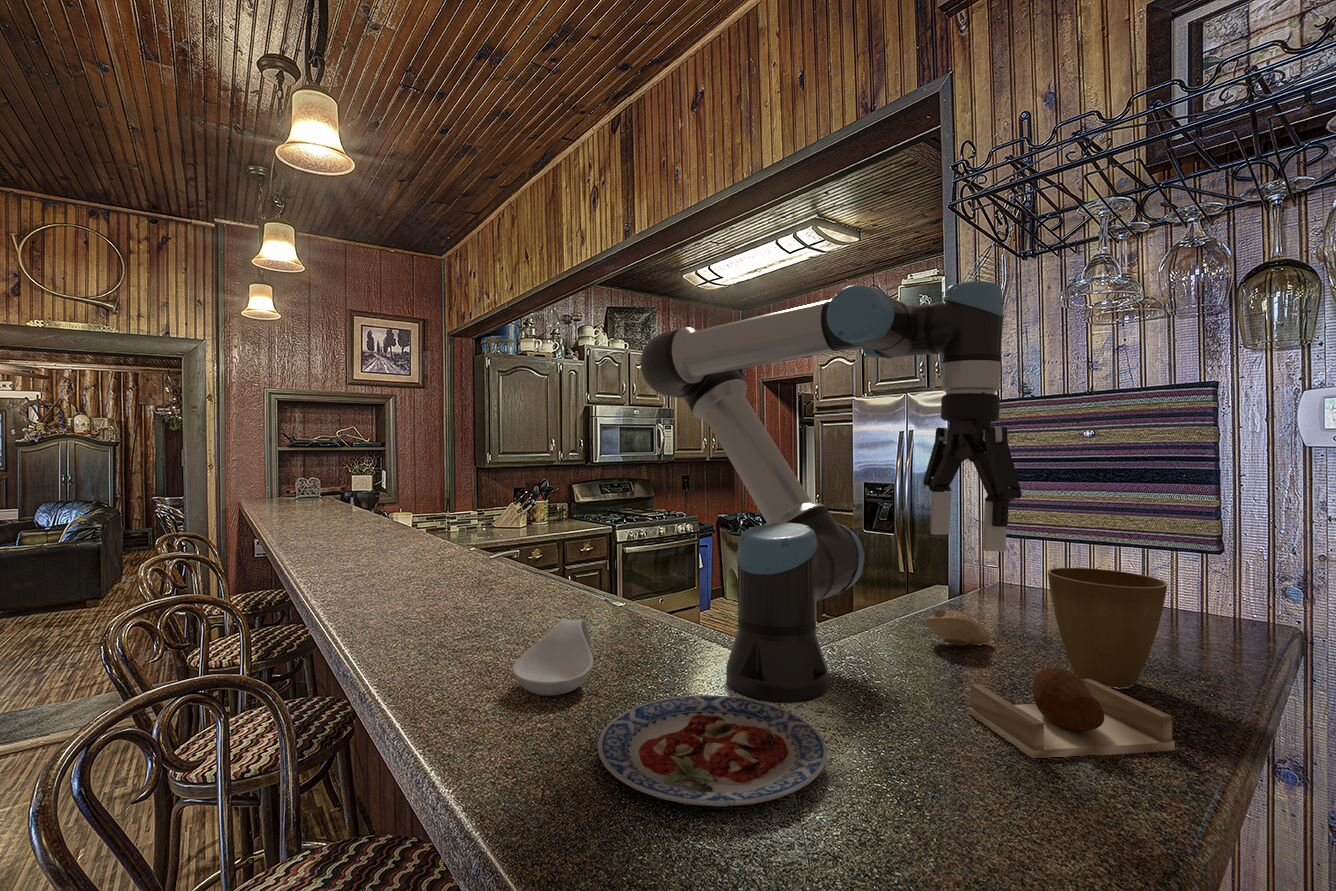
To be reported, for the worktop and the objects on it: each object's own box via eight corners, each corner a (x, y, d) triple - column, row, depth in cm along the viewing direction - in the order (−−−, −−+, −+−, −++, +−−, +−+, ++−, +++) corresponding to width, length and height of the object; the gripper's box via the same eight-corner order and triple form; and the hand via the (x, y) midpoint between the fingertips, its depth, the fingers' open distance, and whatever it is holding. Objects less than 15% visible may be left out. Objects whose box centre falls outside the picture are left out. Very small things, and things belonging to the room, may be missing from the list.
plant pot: (1114, 705, 85) (1114, 589, 85) (1025, 668, 100) (1025, 569, 100) (1194, 694, 89) (1193, 582, 89) (1098, 660, 103) (1097, 564, 104)
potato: (1070, 745, 72) (1070, 689, 72) (1013, 704, 83) (1013, 656, 83) (1122, 744, 72) (1122, 688, 72) (1058, 704, 83) (1057, 655, 83)
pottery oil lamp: (1008, 652, 108) (1008, 611, 108) (950, 658, 105) (949, 616, 105) (972, 637, 116) (972, 599, 116) (917, 642, 113) (916, 603, 113)
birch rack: (1031, 759, 70) (1031, 724, 70) (968, 714, 82) (968, 684, 82) (1174, 750, 72) (1174, 716, 72) (1092, 708, 84) (1092, 678, 84)
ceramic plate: (689, 695, 89) (689, 675, 89) (863, 750, 73) (863, 724, 73) (549, 767, 69) (549, 740, 69) (747, 863, 53) (747, 828, 53)
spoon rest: (585, 707, 85) (585, 655, 85) (501, 705, 86) (501, 653, 86) (609, 651, 109) (609, 610, 109) (543, 650, 110) (543, 609, 110)
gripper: (1057, 387, 76) (1051, 559, 77) (948, 399, 101) (943, 528, 101) (1000, 385, 76) (993, 558, 76) (903, 397, 100) (899, 528, 101)
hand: (964, 542), depth 89 cm, fingers open, 13 cm apart
